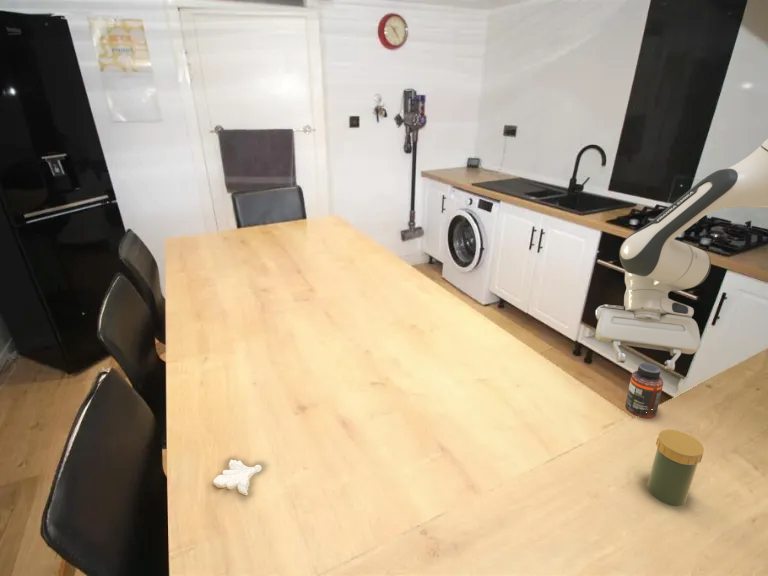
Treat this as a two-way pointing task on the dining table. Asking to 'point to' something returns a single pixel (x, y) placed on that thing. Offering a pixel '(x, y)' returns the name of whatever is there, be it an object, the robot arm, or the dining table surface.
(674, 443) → the lid
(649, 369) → the supplement bottle
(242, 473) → the acanthus leaf ornament
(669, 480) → the sauce jar
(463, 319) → the dining table surface
